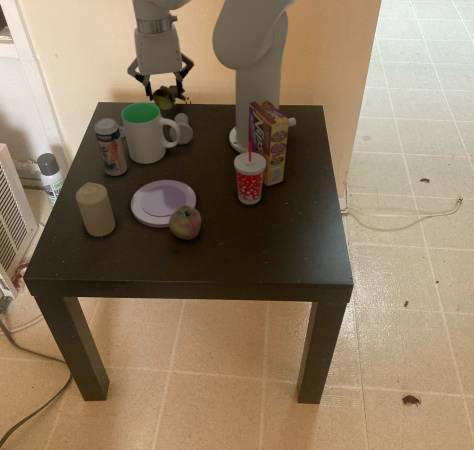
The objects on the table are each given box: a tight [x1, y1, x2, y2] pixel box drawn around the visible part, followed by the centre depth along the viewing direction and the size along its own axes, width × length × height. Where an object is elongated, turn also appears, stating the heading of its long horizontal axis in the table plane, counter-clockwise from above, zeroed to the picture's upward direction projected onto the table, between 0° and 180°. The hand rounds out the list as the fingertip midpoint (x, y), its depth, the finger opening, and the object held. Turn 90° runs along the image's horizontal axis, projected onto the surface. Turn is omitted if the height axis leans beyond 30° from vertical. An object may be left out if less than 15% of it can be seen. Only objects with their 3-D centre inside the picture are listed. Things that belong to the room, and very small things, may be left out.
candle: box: [75, 181, 116, 238], centre depth 90 cm, size 6×6×10 cm
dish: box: [130, 179, 197, 229], centre depth 97 cm, size 13×13×1 cm
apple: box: [168, 206, 202, 241], centre depth 89 cm, size 6×8×6 cm
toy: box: [152, 84, 187, 111], centre depth 120 cm, size 7×5×10 cm
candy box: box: [248, 99, 290, 187], centre depth 99 cm, size 9×4×15 cm, turn 27°
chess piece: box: [168, 112, 194, 146], centre depth 113 cm, size 5×5×9 cm
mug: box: [120, 101, 181, 165], centre depth 105 cm, size 12×8×10 cm, turn 87°
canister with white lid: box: [94, 117, 128, 176], centre depth 101 cm, size 5×5×12 cm
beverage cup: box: [233, 140, 266, 205], centre depth 94 cm, size 6×6×14 cm
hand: (165, 95), depth 118 cm, fingers closed on toy, 6 cm apart
